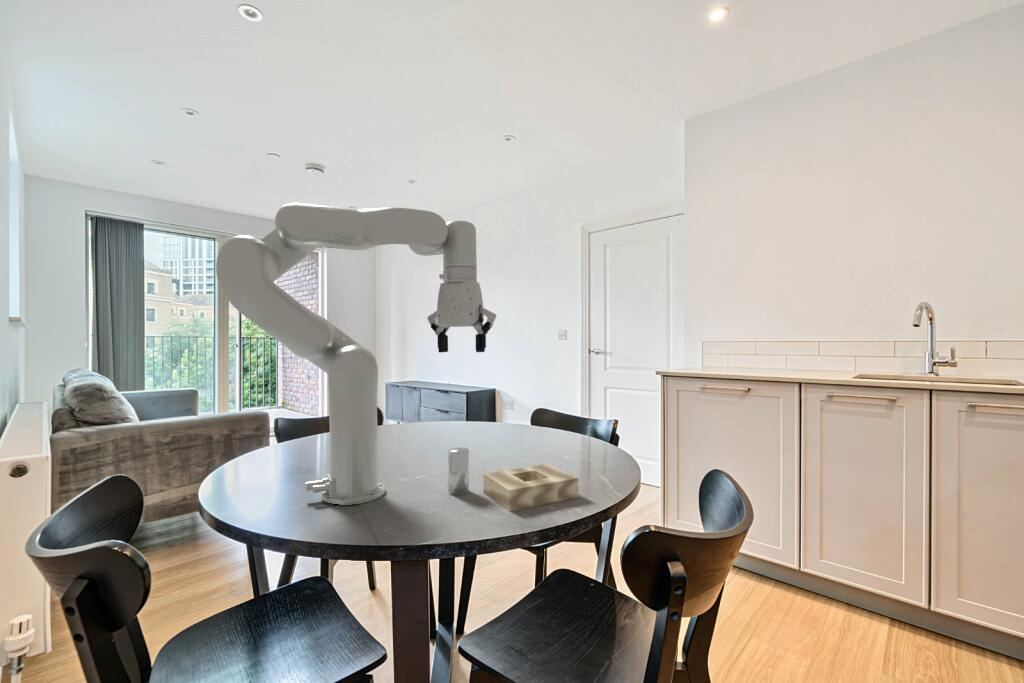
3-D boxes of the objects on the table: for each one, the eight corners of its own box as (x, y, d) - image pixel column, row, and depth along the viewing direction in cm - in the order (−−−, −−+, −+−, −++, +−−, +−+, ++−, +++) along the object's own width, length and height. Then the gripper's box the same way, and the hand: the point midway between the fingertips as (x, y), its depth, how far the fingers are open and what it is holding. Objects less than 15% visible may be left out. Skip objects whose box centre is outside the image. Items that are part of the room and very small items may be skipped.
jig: (509, 511, 85) (509, 490, 85) (483, 492, 96) (483, 473, 96) (578, 497, 93) (578, 477, 93) (547, 481, 103) (547, 463, 103)
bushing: (452, 496, 93) (452, 453, 93) (445, 490, 97) (445, 449, 97) (472, 493, 95) (471, 451, 95) (464, 487, 99) (464, 446, 99)
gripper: (418, 277, 103) (420, 352, 103) (487, 272, 96) (488, 352, 96) (436, 281, 109) (438, 351, 110) (501, 276, 103) (502, 351, 103)
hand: (461, 352), depth 103 cm, fingers open, 9 cm apart
